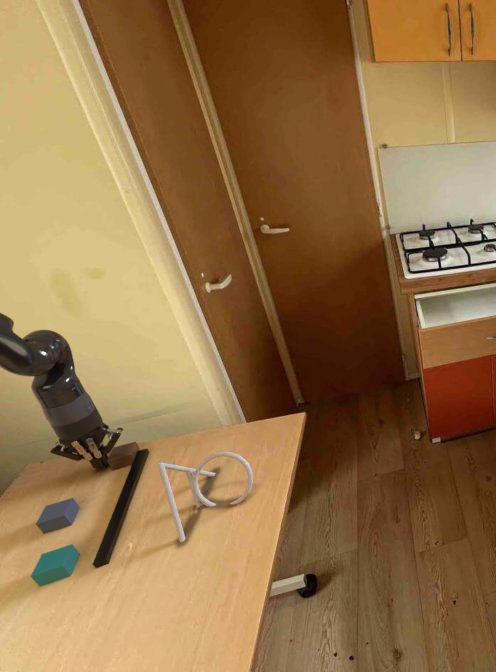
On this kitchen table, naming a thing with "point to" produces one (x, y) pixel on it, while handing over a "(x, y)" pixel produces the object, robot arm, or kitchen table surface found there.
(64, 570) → the teal block
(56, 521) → the slate block
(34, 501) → the kitchen table surface
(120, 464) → the walnut block
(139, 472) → the straightedge
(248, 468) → the wire frame
